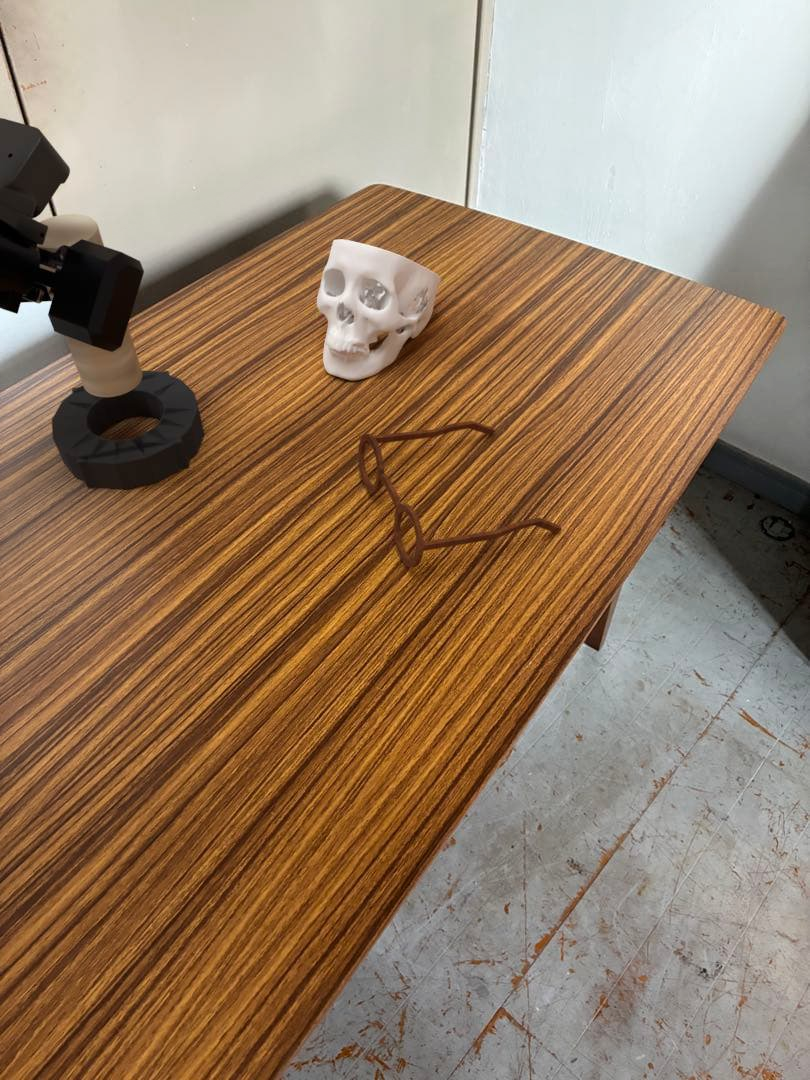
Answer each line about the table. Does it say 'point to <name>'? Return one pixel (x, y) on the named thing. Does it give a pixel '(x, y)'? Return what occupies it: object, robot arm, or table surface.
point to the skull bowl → (371, 306)
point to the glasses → (411, 512)
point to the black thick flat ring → (134, 456)
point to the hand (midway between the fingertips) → (101, 301)
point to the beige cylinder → (93, 364)
